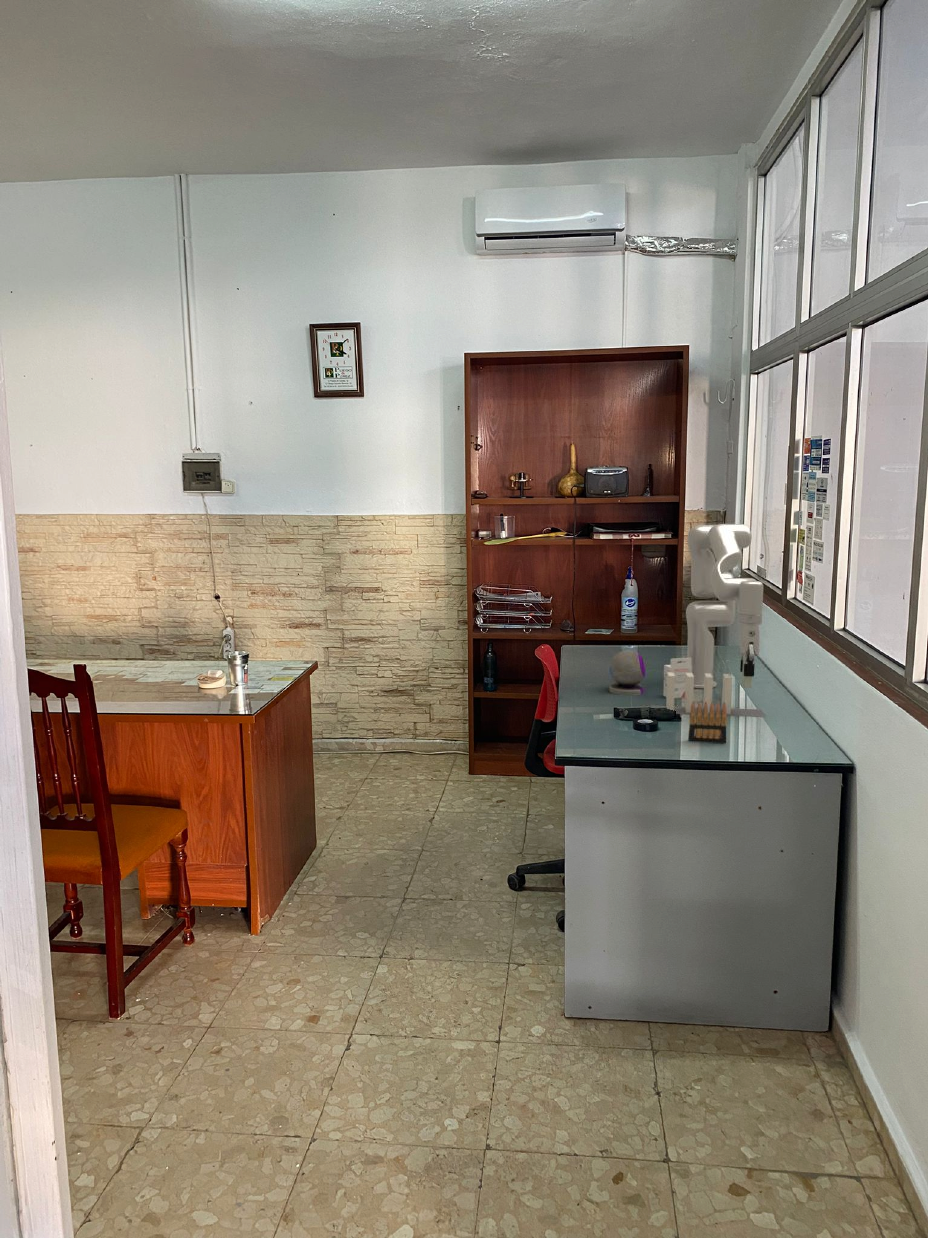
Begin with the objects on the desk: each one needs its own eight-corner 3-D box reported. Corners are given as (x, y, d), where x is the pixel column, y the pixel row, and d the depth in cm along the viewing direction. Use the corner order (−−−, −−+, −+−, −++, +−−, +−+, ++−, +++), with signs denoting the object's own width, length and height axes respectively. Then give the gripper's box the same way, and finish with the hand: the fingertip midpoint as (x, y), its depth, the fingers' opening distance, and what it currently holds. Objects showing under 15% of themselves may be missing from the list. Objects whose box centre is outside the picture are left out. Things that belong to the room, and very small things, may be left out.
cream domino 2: (686, 712, 297) (687, 676, 295) (684, 708, 302) (685, 672, 301) (692, 712, 296) (694, 676, 294) (690, 708, 302) (692, 673, 300)
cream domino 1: (667, 711, 297) (668, 676, 296) (666, 707, 303) (667, 672, 301) (673, 712, 297) (675, 676, 295) (672, 707, 303) (673, 672, 301)
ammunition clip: (725, 741, 266) (727, 701, 264) (726, 743, 264) (728, 703, 262) (688, 739, 268) (689, 700, 266) (688, 741, 266) (690, 701, 264)
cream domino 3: (705, 713, 296) (706, 677, 294) (703, 708, 302) (704, 673, 300) (711, 713, 295) (713, 677, 294) (709, 709, 301) (710, 673, 300)
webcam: (644, 696, 322) (646, 654, 320) (608, 694, 324) (609, 653, 322) (645, 688, 335) (646, 648, 332) (609, 686, 337) (611, 646, 335)
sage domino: (748, 684, 298) (749, 648, 296) (751, 688, 292) (752, 651, 291) (741, 684, 298) (743, 648, 297) (744, 687, 293) (746, 651, 291)
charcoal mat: (650, 707, 306) (650, 705, 306) (761, 711, 301) (761, 709, 301) (652, 714, 296) (652, 712, 296) (766, 718, 291) (766, 717, 291)
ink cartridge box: (684, 695, 323) (685, 655, 321) (691, 698, 318) (693, 657, 316) (662, 697, 321) (663, 656, 318) (669, 700, 316) (670, 658, 314)
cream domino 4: (724, 714, 295) (725, 677, 293) (721, 709, 301) (723, 673, 299) (730, 714, 295) (732, 678, 293) (727, 709, 300) (729, 674, 299)
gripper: (766, 623, 283) (763, 680, 286) (756, 615, 300) (754, 669, 303) (741, 622, 284) (739, 679, 287) (733, 615, 301) (731, 668, 304)
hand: (747, 673), depth 295 cm, fingers closed on sage domino, 5 cm apart
